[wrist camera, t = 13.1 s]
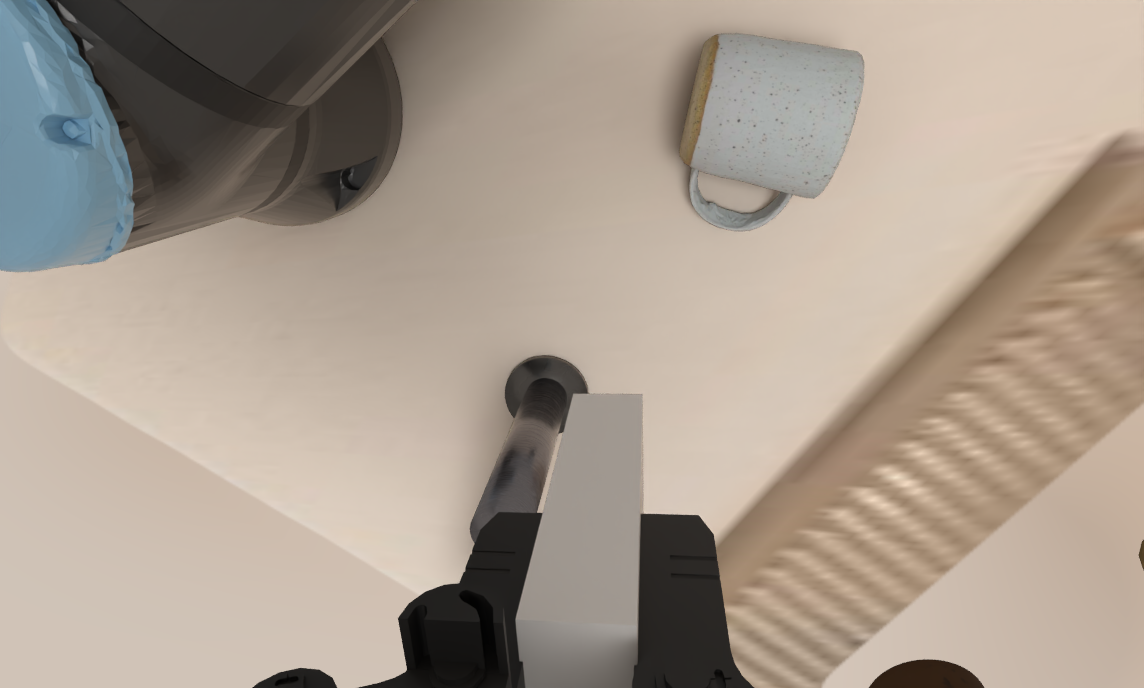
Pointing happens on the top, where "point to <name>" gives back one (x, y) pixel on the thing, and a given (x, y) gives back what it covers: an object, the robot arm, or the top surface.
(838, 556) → the top surface
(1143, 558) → the squeeze bottle
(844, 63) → the ceramic mug
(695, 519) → the robot arm
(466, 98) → the top surface
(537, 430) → the gate post
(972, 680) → the olive oil
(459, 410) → the top surface
